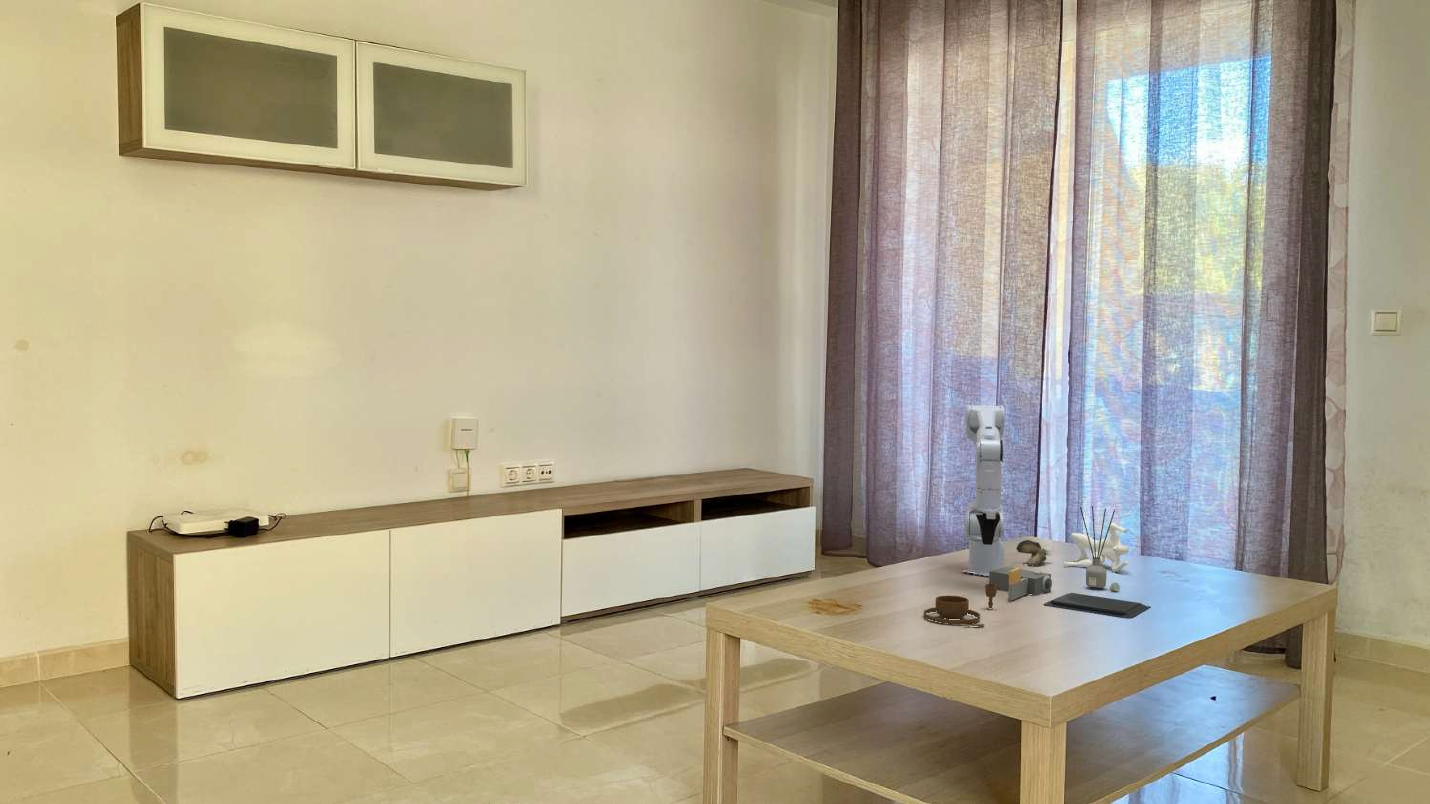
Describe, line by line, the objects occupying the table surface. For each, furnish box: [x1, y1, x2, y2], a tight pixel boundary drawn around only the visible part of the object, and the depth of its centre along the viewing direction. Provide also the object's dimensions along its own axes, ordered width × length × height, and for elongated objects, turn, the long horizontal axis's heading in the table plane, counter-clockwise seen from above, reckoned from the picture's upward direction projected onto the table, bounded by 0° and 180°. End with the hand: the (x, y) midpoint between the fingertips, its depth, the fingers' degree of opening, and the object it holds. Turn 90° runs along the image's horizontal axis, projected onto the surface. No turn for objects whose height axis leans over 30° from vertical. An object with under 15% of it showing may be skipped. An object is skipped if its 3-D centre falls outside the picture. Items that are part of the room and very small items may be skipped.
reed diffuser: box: [1079, 505, 1121, 592], centre depth 269 cm, size 10×7×20 cm
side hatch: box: [1007, 567, 1028, 602], centre depth 258 cm, size 1×10×7 cm, turn 143°
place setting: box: [923, 583, 998, 629], centre depth 238 cm, size 18×20×6 cm
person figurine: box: [1063, 522, 1130, 574], centre depth 296 cm, size 13×13×18 cm
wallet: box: [1043, 592, 1152, 620], centre depth 250 cm, size 20×2×15 cm
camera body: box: [988, 566, 1053, 596], centre depth 267 cm, size 8×13×4 cm, turn 47°
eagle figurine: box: [1015, 539, 1054, 567], centre depth 300 cm, size 8×7×9 cm
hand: (987, 544), depth 269 cm, fingers closed
